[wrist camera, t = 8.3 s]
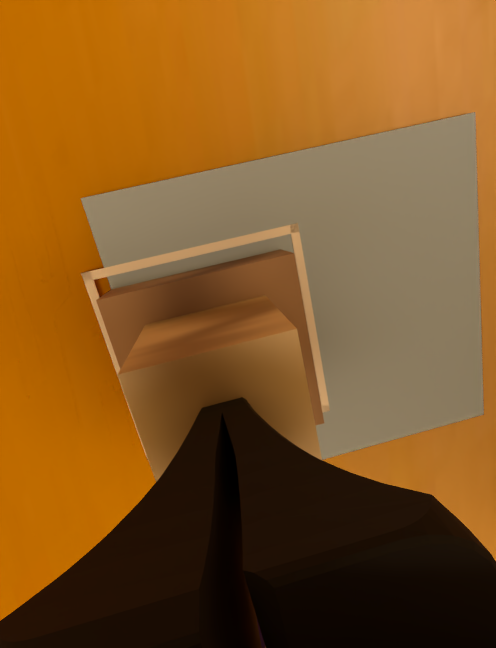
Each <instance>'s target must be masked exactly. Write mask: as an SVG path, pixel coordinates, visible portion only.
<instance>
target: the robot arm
mask: <svg viewBox="0 0 496 648" xmlns="http://www.w3.org/2000/svg"><path fill="white" fill-rule="evenodd" d="M257 620H258V623H259V627H260V630H261V633H262V637H263V640H264V644H265V647H266V648H496V561H495V560H494V558H493V557H492V555H491V554H490V552H489V551H488V550H487V549H486V548H485V547H484V546H483V545H482V543H481V542H480V541H479V540H478V539H477V538H476V537H475V536H474V534H473V533H472V532H471V531H470V530H469V529H468V528H467V527H466V526H465V525H464V524H463V523H462V522H461V521H460V520H459V519H458V518H457V517H456V516H454V515H453V514H452V513H451V512H450V511H449V510H448V509H447V508H445V507H444V506H443V505H442V504H441V503H440V502H439V501H438V500H437V499H436V498H435V497H434V496H432V495H430V494H426V493H422V492H417V491H413V490H409V489H405V488H400V487H396V486H392V485H388V484H384V483H380V482H377V481H374V480H371V479H368V478H365V477H362V476H359V475H356V474H353V473H350V472H348V471H345V470H343V469H340V468H338V467H336V466H333V465H331V464H329V463H327V462H324V461H322V460H320V459H318V458H316V457H314V456H313V455H311V454H309V453H307V452H306V451H304V450H302V449H301V448H299V447H298V446H296V445H295V444H293V443H292V442H290V441H289V440H288V439H286V438H285V437H284V436H282V435H281V434H280V433H278V432H277V431H276V430H275V429H273V428H272V427H271V426H270V425H269V424H268V423H267V422H266V421H265V420H263V419H262V418H261V417H260V416H259V415H258V414H257V412H256V411H255V410H254V409H253V408H252V407H251V406H250V404H249V403H248V401H247V400H246V399H245V398H243V397H241V398H237V399H234V400H230V401H226V402H222V403H218V404H215V405H211V406H207V407H203V408H201V410H200V412H199V413H198V415H197V417H196V419H195V421H194V423H193V425H192V427H191V429H190V431H189V433H188V434H187V436H186V438H185V440H184V441H183V443H182V445H181V446H180V448H179V450H178V452H177V453H176V455H175V456H174V458H173V459H172V461H171V462H170V464H169V465H168V467H167V468H166V470H165V471H164V473H163V474H162V475H161V477H160V478H159V479H158V481H157V482H156V483H155V484H154V486H153V487H152V488H151V489H150V490H149V492H148V493H147V494H146V495H145V496H144V498H143V499H142V500H141V501H140V502H139V503H138V504H137V505H136V506H135V507H134V508H133V510H132V511H131V512H130V513H129V514H128V515H127V516H126V517H125V518H124V519H123V520H122V521H121V522H120V523H119V524H118V525H117V526H116V527H115V528H114V529H113V530H112V531H111V532H110V533H109V534H108V535H107V536H106V537H105V538H104V539H103V540H101V541H100V542H99V543H98V544H97V545H96V546H95V547H94V548H93V549H92V550H90V551H89V552H88V553H87V554H86V555H85V556H83V557H82V558H81V559H80V560H79V561H78V562H76V563H75V564H74V565H73V566H72V567H71V568H69V569H68V570H67V571H66V572H64V573H63V574H62V575H61V576H59V577H58V578H57V579H56V580H54V581H53V582H52V583H50V584H49V585H48V586H46V587H45V588H44V589H42V590H41V591H40V592H39V593H37V594H36V595H35V596H33V597H32V598H31V599H29V600H28V601H27V602H25V603H24V604H23V605H21V606H20V607H19V608H17V609H16V610H15V611H13V612H12V613H11V614H9V615H8V616H6V617H5V618H4V619H2V620H1V621H0V648H262V646H261V641H260V635H259V629H258V623H257Z"/></svg>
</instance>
